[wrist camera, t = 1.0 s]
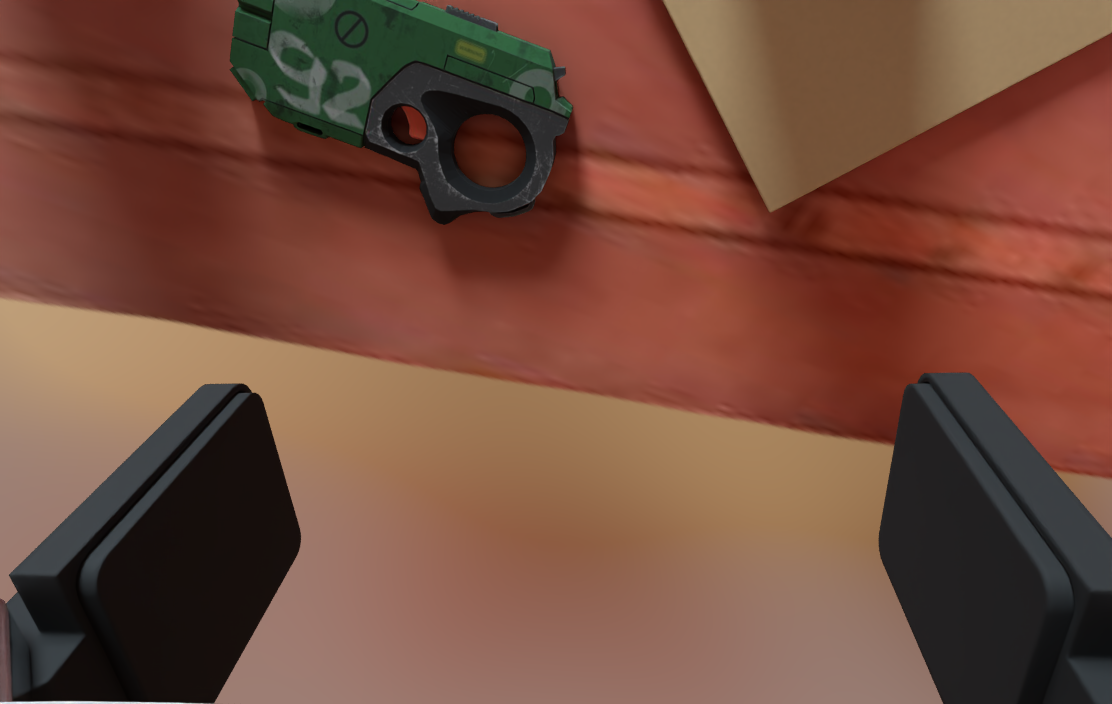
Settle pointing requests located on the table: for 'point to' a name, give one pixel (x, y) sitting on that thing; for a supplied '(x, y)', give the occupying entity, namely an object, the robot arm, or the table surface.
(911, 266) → the table surface
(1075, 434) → the table surface
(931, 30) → the cork mat
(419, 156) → the gun
